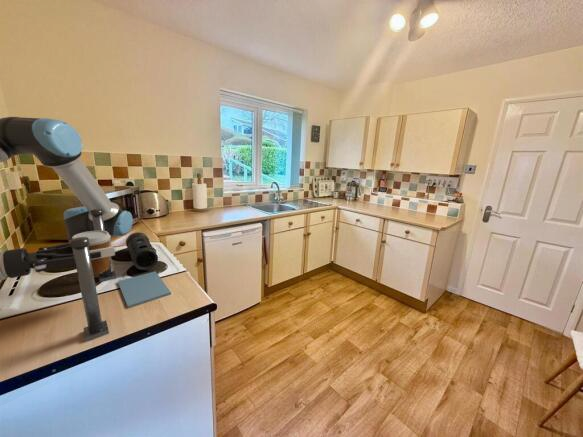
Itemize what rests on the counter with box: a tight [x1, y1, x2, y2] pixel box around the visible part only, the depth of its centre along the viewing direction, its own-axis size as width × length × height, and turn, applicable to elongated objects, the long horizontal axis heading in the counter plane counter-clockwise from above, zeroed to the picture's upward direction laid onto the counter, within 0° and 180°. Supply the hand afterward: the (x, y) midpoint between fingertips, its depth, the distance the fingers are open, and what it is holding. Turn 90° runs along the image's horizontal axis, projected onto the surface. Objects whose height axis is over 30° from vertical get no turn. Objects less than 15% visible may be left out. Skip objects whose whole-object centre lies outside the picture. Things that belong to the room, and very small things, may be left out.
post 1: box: [68, 237, 110, 343], centre depth 62 cm, size 5×5×28 cm
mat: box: [117, 271, 172, 309], centre depth 88 cm, size 20×13×1 cm, turn 43°
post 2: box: [90, 209, 117, 283], centre depth 90 cm, size 5×5×28 cm
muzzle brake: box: [125, 231, 159, 272], centre depth 109 cm, size 10×28×10 cm, turn 39°
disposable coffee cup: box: [72, 231, 112, 275], centre depth 74 cm, size 10×10×12 cm
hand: (112, 246), depth 77 cm, fingers closed on disposable coffee cup, 8 cm apart
